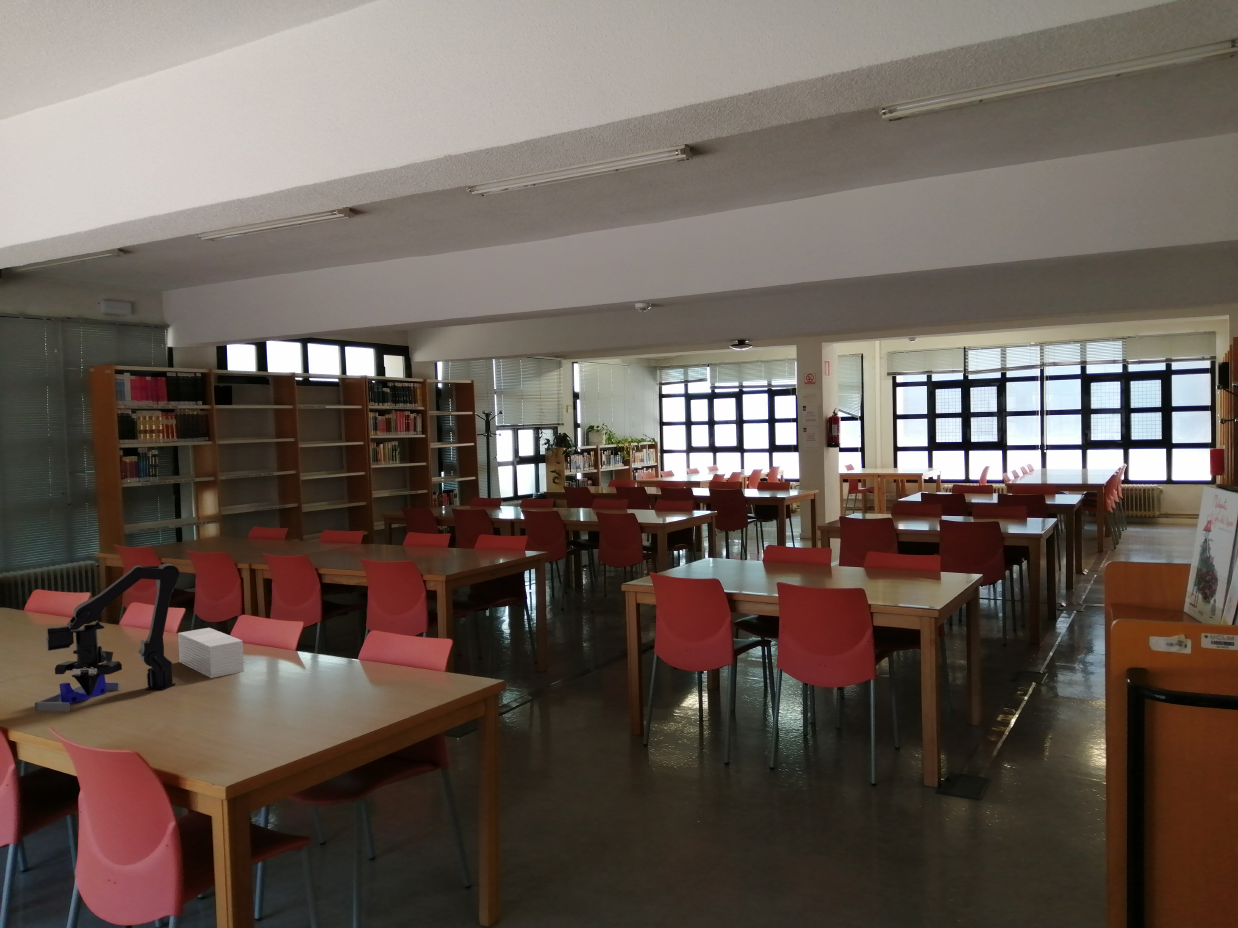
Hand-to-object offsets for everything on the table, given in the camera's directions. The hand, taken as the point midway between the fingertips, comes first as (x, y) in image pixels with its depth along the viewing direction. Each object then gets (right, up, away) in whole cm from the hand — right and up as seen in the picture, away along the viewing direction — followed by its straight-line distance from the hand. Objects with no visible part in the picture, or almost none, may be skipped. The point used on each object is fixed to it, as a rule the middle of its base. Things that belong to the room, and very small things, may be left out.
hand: (90, 695), depth 269 cm
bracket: (-3, -2, +1) cm, 4 cm away
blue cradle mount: (-3, -2, +2) cm, 4 cm away
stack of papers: (+20, 0, +36) cm, 42 cm away
